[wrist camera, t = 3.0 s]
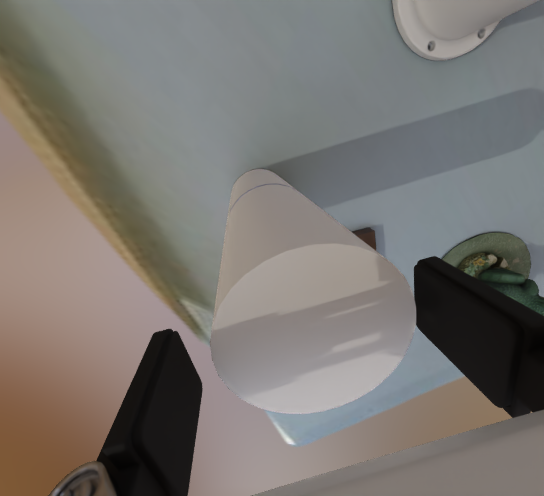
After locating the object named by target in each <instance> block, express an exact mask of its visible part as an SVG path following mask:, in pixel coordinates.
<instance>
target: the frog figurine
mask: <svg viewBox="0 0 544 496" xmlns="http://www.w3.org/2000/svg"><path fill="white" fill-rule="evenodd" d="M442 260H443V261H445V262H447V263H449V264H451V265H453V266H454V267H456V268H458V269H460V270H462V271H463V272H465V273H467V274H469V275H471V276H472V277H474V278H476V279H478V280H480V281H482V282H483V283H485V284H487V285H489V286H491V287H492V288H494V289H496V290H498V291H500V292H501V293H503V294H505V295H507V296H509V297H511V298H512V299H514V300H516V301H518V302H520V303H521V304H523V305H525V306H527V307H529V308H531V309H532V310H534V311H536V312H538V313H540V314H541V315H543V316H544V297H541V296H539V295H538V293H539V289H538V286H537V284H536V283H535V281H533V280H530V279H528V276H529V273H530V268H531V266H530V265H531V261H530V254H529V251H528V249H527V247H526V245H525V244H524V243H523V242H522V241H521V240H520V239H519V238H517V237H515V236H513V235H511V234H506V233H488V234H483V235H479V236H477V237H474V238H472V239H470V240H467V241H465V242H463V243H461V244H459V245H458V246H456V247H455V248H453V249H452V250H451V251H450V252H449V253H448V254H447V255H446V256H445V257H444V258H443V259H442Z"/></svg>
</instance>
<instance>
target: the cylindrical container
mask: <svg viewBox="0 0 544 496" xmlns="http://www.w3.org/2000/svg"><path fill="white" fill-rule="evenodd" d="M415 326H416V304H415V300H414V296H413V292H412V289H411V288H410V286H409V284H408V282H407V280H406V279H405V277H404V275H403V274H402V273H401V272H400V271H399V270H398V269H397V268H396V267H395V266H394V265H393V264H392V263H391V262H390V261H388V260H387V259H386V258H384V257H383V256H382V255H381V254H379V253H378V252H377V251H375V250H374V249H373V248H371V247H370V246H369V245H368V244H366V243H365V242H364V241H362V240H361V239H360V238H359V237H357V236H356V235H355V234H353V233H352V232H351V231H349V230H348V229H347V228H346V227H344V226H343V225H342V224H340V223H339V222H338V221H336V220H335V219H334V218H333V217H331V216H330V215H329V214H327V213H326V212H325V211H323V210H322V209H321V208H320V207H318V206H317V205H316V204H314V203H313V202H312V201H310V200H309V199H308V198H307V197H305V196H304V195H303V194H301V193H300V192H299V191H298V190H296V189H295V188H294V187H292V186H291V185H290V184H288V183H287V182H286V181H285V180H283V179H282V178H281V177H279V176H278V175H277V174H275V173H274V172H271V171H269V170H265V169H255V170H251V171H248V172H246V173H244V174H243V175H242V176H240V177H239V178H238V180H237V181H236V182H235V184H234V186H233V189H232V192H231V198H230V205H229V211H228V218H227V225H226V232H225V239H224V246H223V253H222V260H221V267H220V274H219V281H218V288H217V295H216V302H215V310H214V317H213V324H212V331H211V338H210V347H211V355H212V361H213V363H214V366H215V368H216V370H217V373H218V375H219V377H220V378H221V379H222V381H223V382H224V383H225V384H226V386H227V387H228V389H230V390H231V391H232V392H233V393H235V394H236V395H237V396H238V397H239V398H241V399H242V400H244V401H246V402H248V403H250V404H252V405H253V406H256V407H259V408H262V409H265V410H268V411H273V412H278V413H284V414H307V413H315V412H322V411H325V410H329V409H333V408H336V407H340V406H342V405H344V404H347V403H349V402H352V401H354V400H356V399H358V398H359V397H361V396H363V395H365V394H366V393H368V392H370V391H371V390H372V389H374V388H375V387H376V386H378V385H379V384H380V383H381V382H383V381H384V380H385V379H386V378H387V377H388V376H389V375H390V374H391V373H392V372H393V371H394V370H395V368H396V367H397V366H398V364H399V363H400V361H401V360H402V359H403V357H404V356H405V354H406V352H407V350H408V347H409V345H410V343H411V341H412V338H413V334H414V330H415Z"/></svg>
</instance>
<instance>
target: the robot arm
mask: <svg viewBox="0 0 544 496" xmlns="http://www.w3.org/2000/svg"><path fill="white" fill-rule="evenodd" d="M538 1H540V0H392V4H393V11H394V18H395V21H396V24H397V27H398V31H399V33H400V34H401V36H402V38H403V40H404V42H405V43H406V44H407V45H408V46H409V48H410V49H411V50H412V51H413V52H415V53H416V54H418V55H419V56H421V57H423V58H426V59H428V60H435V61H443V60H450V59H453V58H455V57H458V56H461V55H463V54H465V53H467V52H469V51H471V50H473V49H474V48H475V47H477V46H478V45H479V44H481V43H482V42H483V41H484V40H485V39H486V38H487V37H488V36H489V35H490V34H491V33H492V31H493V30H494V29H495V27H496V26H497V25H498V23H499V22H500V20H501V19H503V18H505V17H507V16H509V15H511V14H513V13H515V12H517V11H519V10H521V9H523V8H526V7H528V6H530V5H532V4H534V3H536V2H538ZM414 297H415V304H416V325H417V327H418V329H419V330H420V331H421V332H422V333H423V334H424V335H425V336H426V337H427V338H428V339H429V340H430V341H431V342H432V343H433V344H434V345H435V346H436V347H437V348H438V349H439V350H440V351H441V352H442V353H443V354H444V355H445V356H446V357H447V358H448V359H449V360H450V361H451V362H452V363H453V364H454V365H455V366H456V367H457V368H458V369H459V370H460V371H461V372H462V373H463V374H464V375H465V376H466V377H467V378H468V379H469V380H470V381H471V382H472V383H473V384H474V385H475V386H476V387H477V388H478V389H479V390H480V391H481V392H482V393H483V394H484V395H485V396H486V397H487V398H488V399H489V400H490V401H491V402H492V403H493V404H494V405H495V406H497V407H499V408H503V409H504V410H505V411H506V412H507V413H508V414H509V415H510V416H511V417H512V418H511V419H508V420H505V421H501V422H498V423H495V424H491V425H487V426H484V427H480V428H477V429H474V430H470V431H467V432H463V433H460V434H456V435H453V436H449V437H446V438H442V439H439V440H436V441H432V442H429V443H426V444H422V445H419V446H415V447H412V448H408V449H405V450H402V451H398V452H395V453H392V454H388V455H385V456H382V457H378V458H375V459H371V460H368V461H365V462H361V463H358V464H355V465H351V466H348V467H345V468H341V469H338V470H334V471H331V472H328V473H324V474H321V475H318V476H314V477H311V478H308V479H304V480H301V481H298V482H295V483H291V484H288V485H285V486H281V487H278V488H275V489H272V490H268V491H265V492H262V493H258V494H255V495H252V496H544V316H543V315H541V314H540V313H538V312H536V311H534V310H532V309H531V308H529V307H527V306H525V305H523V304H521V303H520V302H518V301H516V300H514V299H512V298H511V297H509V296H507V295H505V294H503V293H501V292H500V291H498V290H496V289H494V288H492V287H491V286H489V285H487V284H485V283H483V282H482V281H480V280H478V279H476V278H474V277H472V276H471V275H469V274H467V273H465V272H463V271H462V270H460V269H458V268H456V267H454V266H453V265H451V264H449V263H447V262H445V261H443V260H442V259H440V258H438V257H435V256H433V257H429V258H426V259H422V260H419V261H418V263H417V265H415V267H414ZM201 397H202V382H201V379H200V377H199V375H198V373H197V371H196V369H195V367H194V365H193V363H192V361H191V358H190V356H189V354H188V352H187V350H186V348H185V346H184V344H183V342H182V340H181V338H180V335H179V333H178V332H177V331H174V332H173V330H172V329H166V330H163V331H159V332H155V333H154V334H153V336H152V338H151V340H150V342H149V345H148V347H147V349H146V351H145V353H144V356H143V358H142V360H141V363H140V365H139V367H138V369H137V372H136V374H135V376H134V378H133V380H132V382H131V385H130V387H129V389H128V391H127V393H126V396H125V398H124V400H123V402H122V405H121V407H120V409H119V412H118V414H117V416H116V418H115V420H114V423H113V425H112V427H111V429H110V432H109V434H108V436H107V438H106V440H105V443H104V445H103V447H102V449H101V452H100V454H99V456H98V458H97V461H92V462H87V463H85V464H83V465H81V466H79V467H77V468H76V469H74V470H73V471H72V472H70V473H69V474H67V475H66V476H65V477H64V478H63V479H62V480H61V481H60V482H59V483H58V484H57V485H56V487H55V488H54V489H53V490H52V491H51V493H50V494H49V495H48V496H187V495H188V489H189V482H190V475H191V468H192V461H193V453H194V447H195V439H196V432H197V425H198V418H199V411H200V404H201ZM531 411H532V412H533V413H530V412H531ZM529 413H530V414H529Z"/></svg>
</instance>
